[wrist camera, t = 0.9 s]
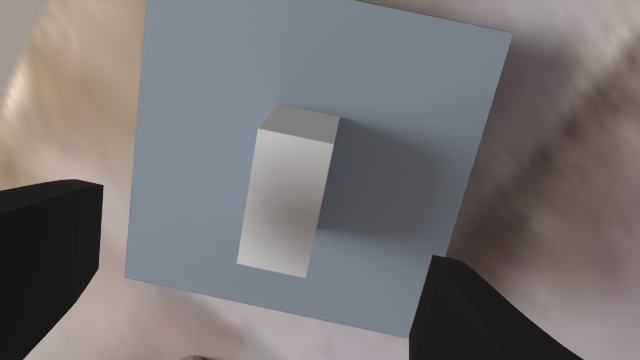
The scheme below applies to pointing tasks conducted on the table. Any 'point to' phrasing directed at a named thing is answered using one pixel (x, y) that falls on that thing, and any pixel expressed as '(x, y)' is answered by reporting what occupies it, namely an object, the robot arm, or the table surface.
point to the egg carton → (191, 358)
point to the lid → (305, 152)
